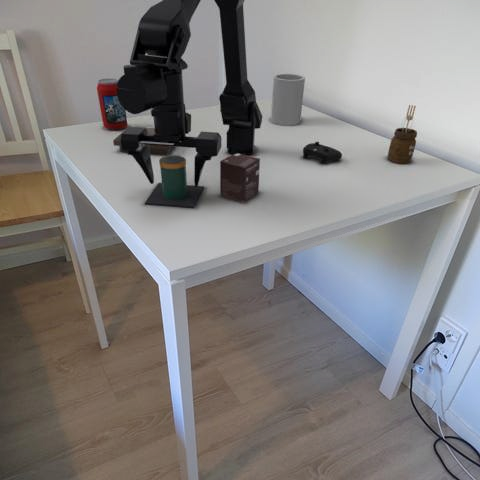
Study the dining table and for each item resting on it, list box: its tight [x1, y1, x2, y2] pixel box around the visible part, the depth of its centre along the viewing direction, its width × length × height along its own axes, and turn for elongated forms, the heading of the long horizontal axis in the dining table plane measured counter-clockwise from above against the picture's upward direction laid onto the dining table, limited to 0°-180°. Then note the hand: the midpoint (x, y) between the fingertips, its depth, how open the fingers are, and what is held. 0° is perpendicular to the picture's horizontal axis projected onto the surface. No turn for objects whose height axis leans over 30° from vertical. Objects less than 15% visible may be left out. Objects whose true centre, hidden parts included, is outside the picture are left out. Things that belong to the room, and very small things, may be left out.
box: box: [219, 153, 261, 203], centre depth 87 cm, size 6×6×7 cm
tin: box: [158, 154, 188, 199], centre depth 85 cm, size 5×5×7 cm
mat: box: [144, 182, 205, 209], centre depth 88 cm, size 10×10×1 cm
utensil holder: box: [387, 104, 418, 165], centre depth 103 cm, size 6×6×12 cm
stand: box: [112, 125, 174, 156], centre depth 109 cm, size 14×12×3 cm
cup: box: [270, 73, 306, 127], centre depth 127 cm, size 9×9×12 cm
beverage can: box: [96, 78, 128, 131], centre depth 118 cm, size 7×7×12 cm
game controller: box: [302, 141, 343, 164], centre depth 106 cm, size 10×5×6 cm
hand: (174, 184), depth 86 cm, fingers open, 9 cm apart
